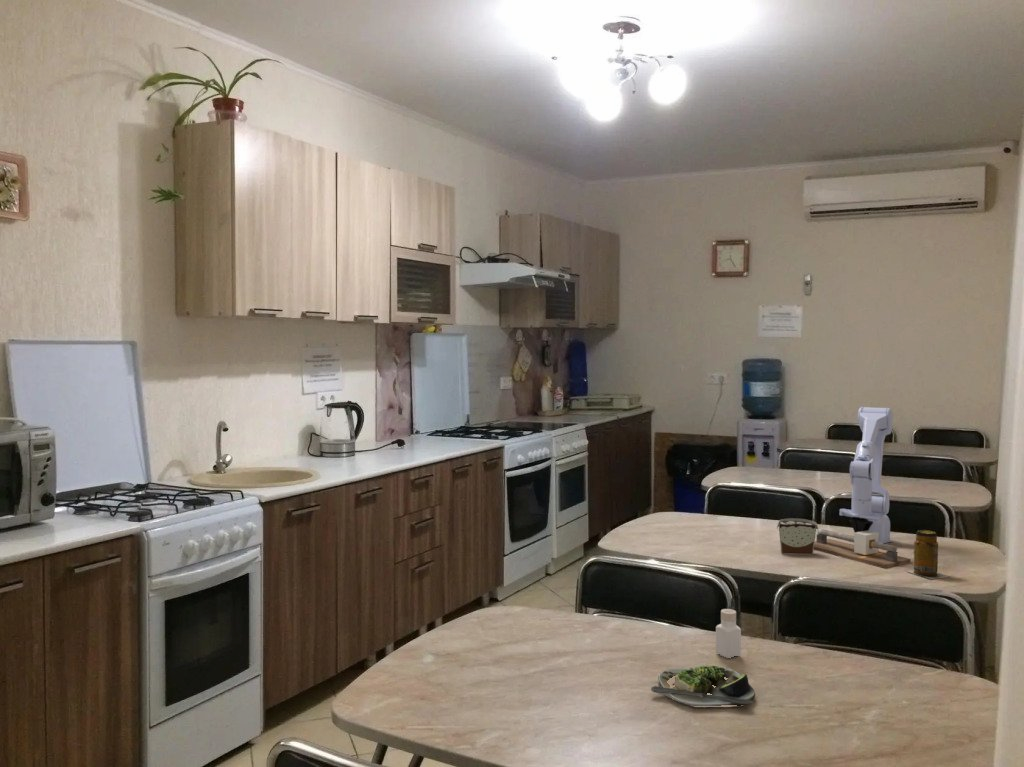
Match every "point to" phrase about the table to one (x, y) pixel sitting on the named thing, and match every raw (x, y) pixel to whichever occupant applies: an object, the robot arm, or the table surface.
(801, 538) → the food container
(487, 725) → the table surface
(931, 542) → the condiment
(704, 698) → the salad plate
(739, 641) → the salt shaker
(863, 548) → the collar
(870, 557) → the wooden slider rail
